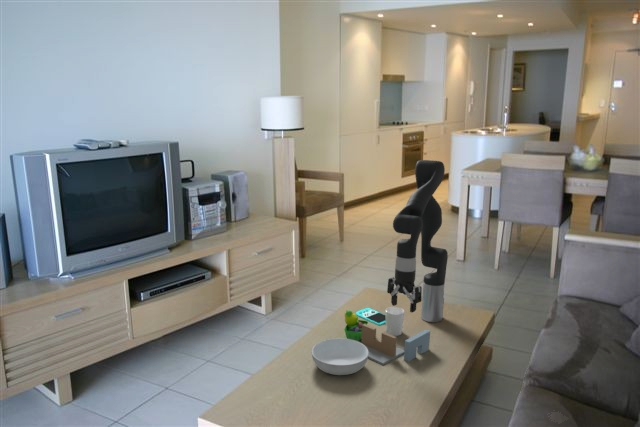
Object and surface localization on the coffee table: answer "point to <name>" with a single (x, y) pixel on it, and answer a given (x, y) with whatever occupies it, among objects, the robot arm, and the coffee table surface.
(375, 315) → the handheld game console
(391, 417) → the coffee table surface
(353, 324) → the fruit basket
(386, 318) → the white cup
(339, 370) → the serving bowl
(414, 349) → the slotted plate
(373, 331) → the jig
